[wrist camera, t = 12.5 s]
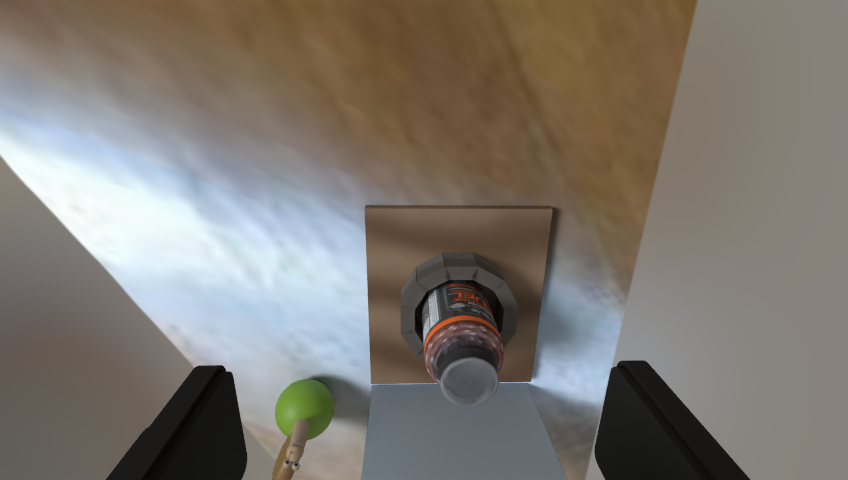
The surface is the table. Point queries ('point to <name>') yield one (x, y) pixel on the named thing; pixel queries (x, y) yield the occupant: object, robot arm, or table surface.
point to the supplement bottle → (461, 342)
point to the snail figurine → (300, 421)
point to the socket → (453, 260)
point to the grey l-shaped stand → (456, 436)
